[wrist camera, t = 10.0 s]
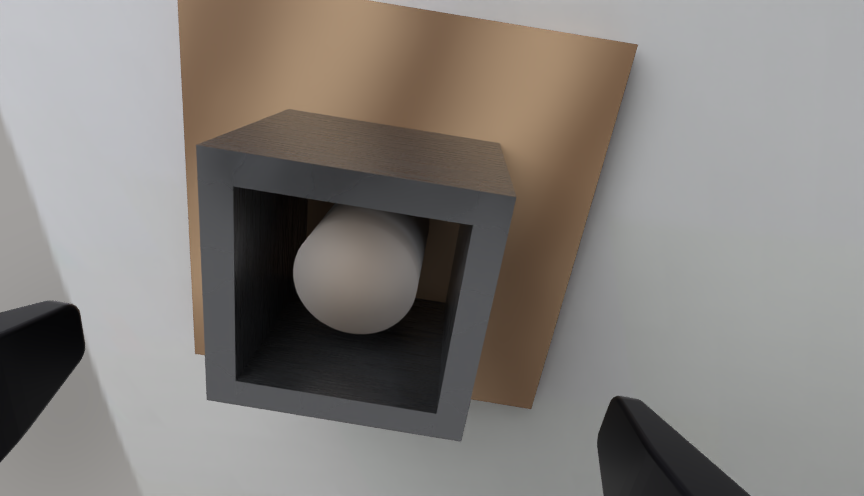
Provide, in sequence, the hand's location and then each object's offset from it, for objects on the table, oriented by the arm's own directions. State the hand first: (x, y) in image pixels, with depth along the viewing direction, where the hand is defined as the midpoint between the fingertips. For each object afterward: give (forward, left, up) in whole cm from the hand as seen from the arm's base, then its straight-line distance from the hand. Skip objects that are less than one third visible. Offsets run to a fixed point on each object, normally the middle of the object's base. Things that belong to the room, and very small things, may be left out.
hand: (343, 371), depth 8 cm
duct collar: (+1, +1, -10) cm, 10 cm away
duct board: (+1, +1, -11) cm, 11 cm away
